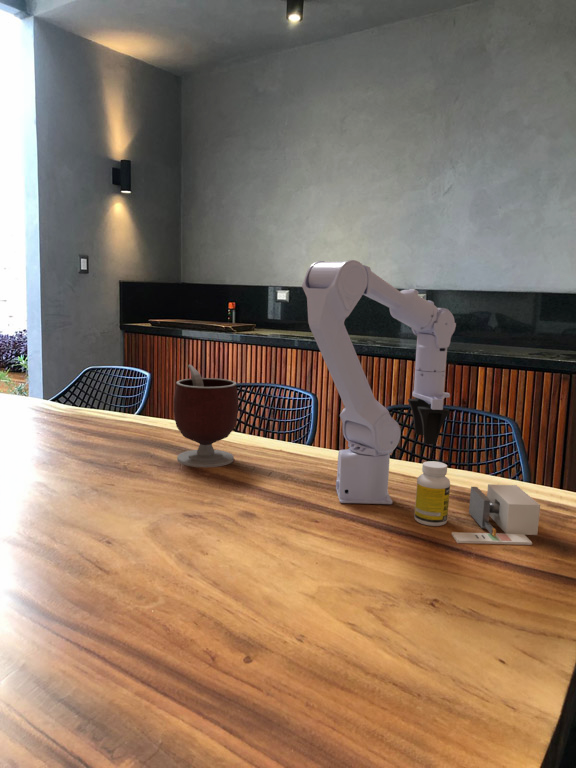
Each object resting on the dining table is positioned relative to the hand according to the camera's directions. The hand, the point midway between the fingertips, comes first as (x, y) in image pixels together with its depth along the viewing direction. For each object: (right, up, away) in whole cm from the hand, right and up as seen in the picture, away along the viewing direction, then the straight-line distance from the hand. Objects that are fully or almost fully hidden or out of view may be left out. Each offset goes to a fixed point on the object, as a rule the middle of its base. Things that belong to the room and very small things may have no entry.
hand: (425, 439), depth 121 cm
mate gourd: (-45, -6, +16) cm, 48 cm away
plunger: (+8, -13, -19) cm, 25 cm away
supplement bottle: (-3, -12, -17) cm, 21 cm away
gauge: (+6, -13, -19) cm, 24 cm away
